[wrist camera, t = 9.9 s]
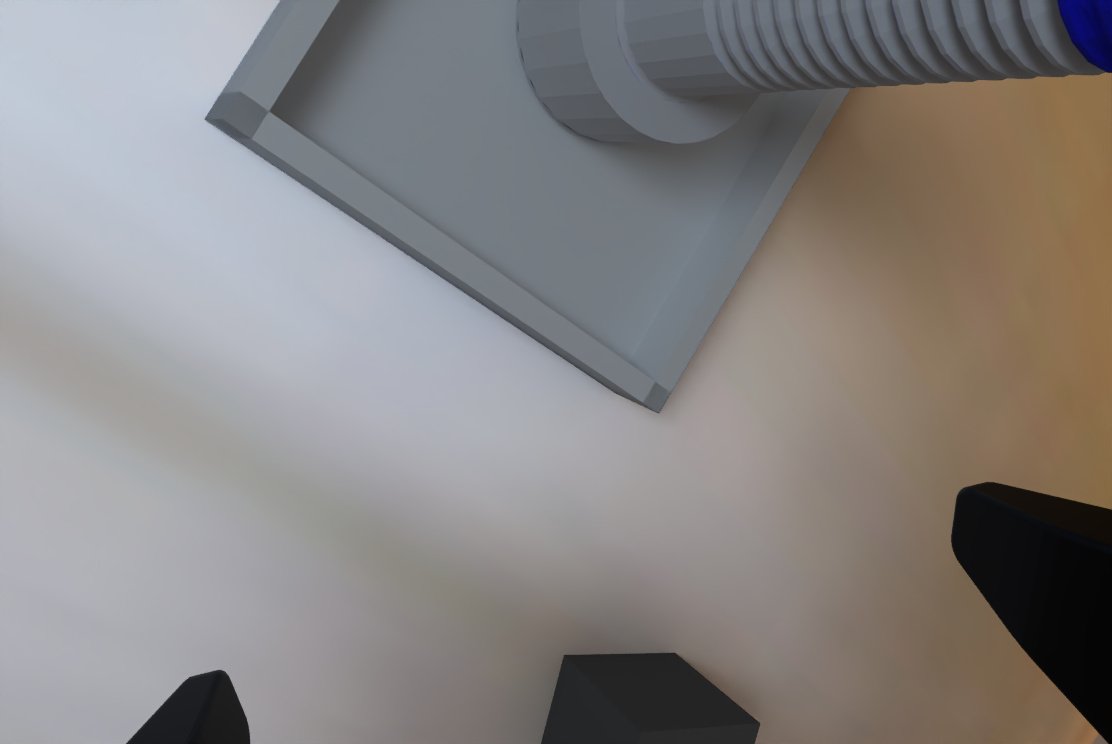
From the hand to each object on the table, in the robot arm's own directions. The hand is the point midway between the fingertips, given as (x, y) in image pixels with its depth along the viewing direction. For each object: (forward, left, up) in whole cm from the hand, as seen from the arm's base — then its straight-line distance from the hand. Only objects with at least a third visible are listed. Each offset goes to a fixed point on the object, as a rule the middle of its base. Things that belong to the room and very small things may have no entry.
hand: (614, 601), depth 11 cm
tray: (+10, -1, -12) cm, 15 cm away
